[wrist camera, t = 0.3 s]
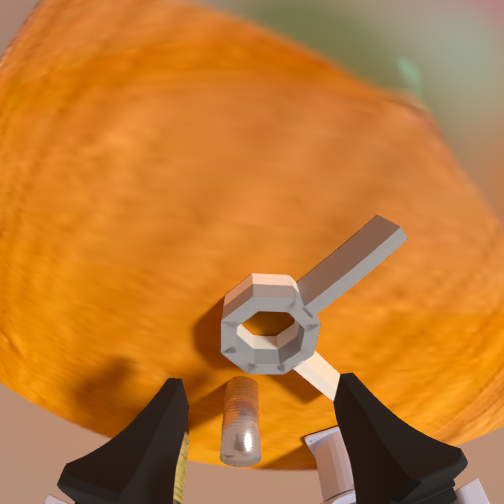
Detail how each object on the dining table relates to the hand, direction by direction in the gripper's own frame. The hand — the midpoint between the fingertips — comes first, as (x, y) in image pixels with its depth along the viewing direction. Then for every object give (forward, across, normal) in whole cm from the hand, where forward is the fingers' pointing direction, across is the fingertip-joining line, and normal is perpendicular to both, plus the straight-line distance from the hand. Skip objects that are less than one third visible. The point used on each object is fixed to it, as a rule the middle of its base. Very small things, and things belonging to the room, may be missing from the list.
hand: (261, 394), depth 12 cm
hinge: (+10, -6, +2) cm, 12 cm away
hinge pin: (+10, +2, +10) cm, 14 cm away
